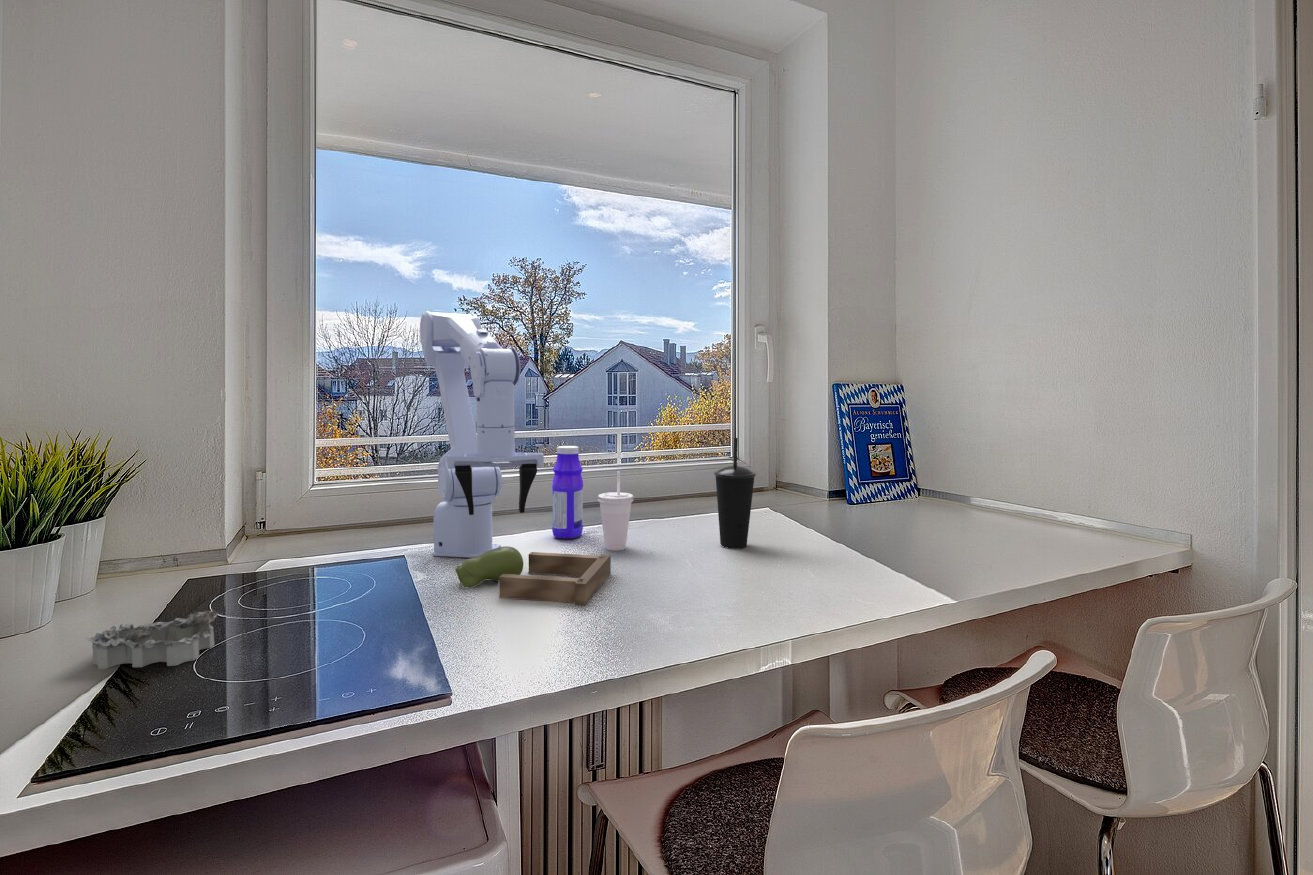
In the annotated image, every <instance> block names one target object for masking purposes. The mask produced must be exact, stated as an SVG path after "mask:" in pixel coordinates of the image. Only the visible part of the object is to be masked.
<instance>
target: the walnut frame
mask: <svg viewBox="0 0 1313 875" xmlns="http://www.w3.org/2000/svg"><path fill="white" fill-rule="evenodd" d="M527 556H528V557H527V558H528V574H520V575H515V574H502V575H501V576H499V581H498V598H501V599H512V600H513V599H515V600H529V601H530V600H532V601H544V602H545V601H546V602H557V603H558V602H560V603H573V604H574V605H575V606H576V605H577V606H586V605H588V603H589V602H590V601H591V599H592V598H593V597H594V596H595V594H596V592H597V591H598V590H599V589H600V588H601V586H602V585H603V584H604V583H605V581H606V580H607V579H608V578H609V576H610V575H611V574H612V573H611V571H612V569H611V568H612V562H611V558H612V557H611V556H612V555H611V554H600V555H595V554H594V555H593V554H591V555H590V554H577V553H576V554H575V553H574V554H573V553H559V552H558V553H556V552H541V551H538V552H537V551H531V552H530V553H528V555H527ZM529 574H536V575H529ZM537 574H539V575H537ZM541 574H543V575H541ZM554 574H556V576H548V575H554ZM546 575H547V576H546ZM560 576H561V577H560ZM563 576H574V577H563ZM575 576H576V577H575Z"/></svg>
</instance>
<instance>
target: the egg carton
mask: <svg viewBox="0 0 1313 875" xmlns="http://www.w3.org/2000/svg"><path fill="white" fill-rule="evenodd" d="M217 617H218V612H217V610H212V611H211V610H204V611H197V612H194V613H189V615H188V617H187V618H182V617H177V618H176V617H175V619H173V620H171V621H165V622H164V621H158V622H157V621H155V622H152V623H146V624H143V625H142V624H141V625H138V626H136V627H134V624H133V623H132V624H127V623H126V624H123V623H121V624H120V625H119V628H118V629H117V627H116V626H115V625H113V626H111V627H110V628H109V630H107V629H106V630H103V632H102V631H101V632H100V633H99V632H96V633H95V635H94V636H92V637H86V638H84V639H85V640H87V641H89V642H91V643H92V644H91V648H92V658H93V659H92V660H93V663H92V664H93V665H94V666H95V665H96V666H97V669H98V670H102V669H103V670H104V669H105V670H106V669H109V668H111V667H115V666H118V665H123V664H132V665H131V667H132V668H143V667H145V666H148V665H151V664H155V663H166V667H174V666H179V665H181V664H183V663H186V662H191V661H195V660H197V659H198V658H200V650H205V649H206V650H207V649H211V648H213V647H214V646H215V645H216V644H215V632H214V627H213V625H212V624H211V623H213V622H214V621H215V620H216V618H217Z"/></svg>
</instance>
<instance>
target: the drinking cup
mask: <svg viewBox="0 0 1313 875" xmlns="http://www.w3.org/2000/svg"><path fill="white" fill-rule="evenodd" d="M738 446H739V445H738V437H733V460H732V461H733V465H727V466H724V467H721V468H719V469H718V470H715V471H714V472H713V475H714V476H715V483H716V484H715V485H716V500H717V513H718V527H719V530H718V531H719V542H720V544H721V545H722V546H724V547H723V548H725V547H728V548H727V549H731V548H740V549H744V547H745V548H746V547H747V544H748V536H749V528H750V520H751V510H752V502H753V501H752V500H753V493H754V485H755V484H754V482H755V477H757V473H756V472H755V471H752V470H751V469H750V468H747V467H745V466H740V465H738ZM720 544H719V545H720ZM721 545H720V546H721ZM722 546H721V547H722Z"/></svg>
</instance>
